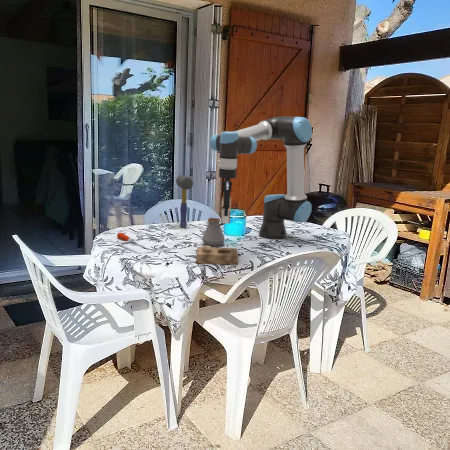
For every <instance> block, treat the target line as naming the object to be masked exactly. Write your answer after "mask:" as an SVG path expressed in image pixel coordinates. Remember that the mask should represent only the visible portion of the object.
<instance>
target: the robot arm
mask: <svg viewBox="0 0 450 450" xmlns="http://www.w3.org/2000/svg"><path fill="white" fill-rule="evenodd" d="M312 127H313V126H312V124H311V122H310V120H309V119H307V117H302V116H276V117H275V116H274V117H271V118H269V119H265V120H261V121H260V122H258V123H257V124H255V125H251V126H248V127H245V128H242V129H237V130H235V131H222V132H221V133H220V134H214V135H212V136H211V138H210V139H209V147H210V149H211V150H213V151H214V152H219V159H218V160H217V162H218V163H219V169H218V177H219V178H220V179H224V181H222V183H221V184H222V193H223V196H222V197H224V206H223V207H222V206H221V208H223V219H222V223H225V224H230V223H229V207H230V206H229V205H230V197H231V192H232V185H233V182H232V181H231V179H236V178H237V171H238V170H237V167H238V155H250V154H254V153H255V152H256V150H257V147H258V141H261V140H262V141H268V140H279V141H283V146H284V147H285V148H286V181H287V182H286V183H287V184H286V185H287V187H286V188H287V189H286V191H287V192H286V194H283V193H276V194H275V193H274V194H266V195H265V196H264V202H263V212H262V213H263V214H262V223H261V225H260V227H259V230H258V236H259V237H261V238H264V239H268V238H269V239H270V240H281V239H282V240H283V239H285V238H287V230H286V229H287V228H286V227H285V226H286V225H285V221H289V222H294V223H300V224H302V223H305V222H306V221H308V219H309V217H310V216H311V213H312V208H313V206H312V203H311V202H310V201H308V196H307V195H306V194H305V147H306V146H307V144H308V142H309V141H310V140H311V138H312V137H311V136H312V134H313V129H312Z"/></svg>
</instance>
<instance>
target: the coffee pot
mask: <svg viewBox="0 0 450 450" xmlns="http://www.w3.org/2000/svg"><path fill="white" fill-rule="evenodd" d="M207 222H208V225H207V226H206V228H205V231H204V233H203V235H202V238H201V240H202V242H203V243H204V244H205V245H207V246H211V247H220V246H222V244H223V243H224V242H225V240H226V239H225V236H224V233H223V231H222V228H221V226H225V225H226V223H221V218H215V217H211V218H210V217H209V218H208V219H207Z"/></svg>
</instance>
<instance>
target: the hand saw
mask: <svg viewBox="0 0 450 450" xmlns="http://www.w3.org/2000/svg"><path fill="white" fill-rule="evenodd" d="M116 237H117V239H119V240H122V241H121V242H119V243H118V246H119V247H121V248H122V249H125V250H127V251H129V252H132V253H134V254H137V253H138V254H137V255H142V253H146V254H153V253H152V252H154V253H157V251H156V250H153V251H151V250H152V249H150V248H148V247H146V246H144V245H143V244H142V245H141V244H140V243H137V241H136V240H135V239H133V238H132V237H130V236H128V235H126V234H124V233H123V232H118V233H117V234H116ZM129 243H130V244H136V245H138V246H140V247H142V248H145V249H147V250H148V251H145V252H139V251H137V250H134V249H132V248H130V247H128V246H127V245H125V244H129Z"/></svg>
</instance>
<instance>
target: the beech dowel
mask: <svg viewBox="0 0 450 450" xmlns="http://www.w3.org/2000/svg"><path fill="white" fill-rule="evenodd" d="M223 206H224V197H223V196H222V197H221V211H220V223H222V219H223V208H222V207H223ZM229 206H230V207H229V223H228V224H230V223H231V214H232V213H231V212H232V211H231V207H232V197H231V196H230V205H229Z"/></svg>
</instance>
